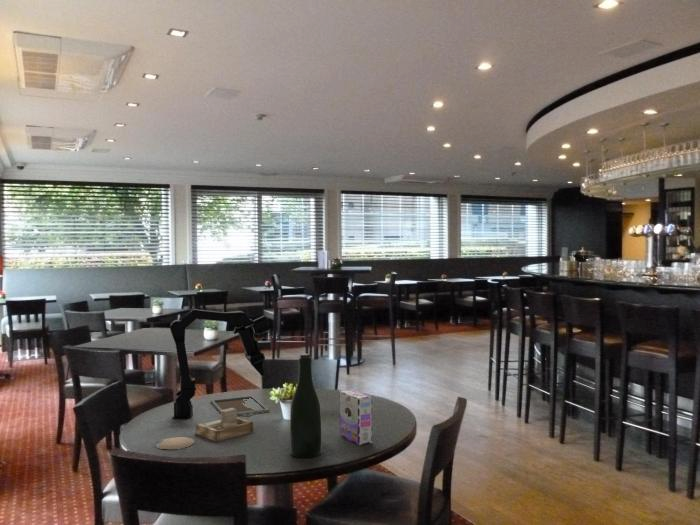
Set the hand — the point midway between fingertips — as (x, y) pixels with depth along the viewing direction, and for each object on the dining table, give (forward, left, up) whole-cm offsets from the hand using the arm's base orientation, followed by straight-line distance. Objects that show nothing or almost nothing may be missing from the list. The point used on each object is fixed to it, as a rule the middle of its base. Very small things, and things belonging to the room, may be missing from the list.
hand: (261, 373), depth 244 cm
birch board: (-3, -33, -16) cm, 37 cm away
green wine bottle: (+29, -51, -16) cm, 60 cm away
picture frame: (-10, +3, -16) cm, 20 cm away
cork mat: (-19, -46, -16) cm, 52 cm away
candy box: (+44, -35, -16) cm, 58 cm away
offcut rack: (-6, -32, -16) cm, 36 cm away
